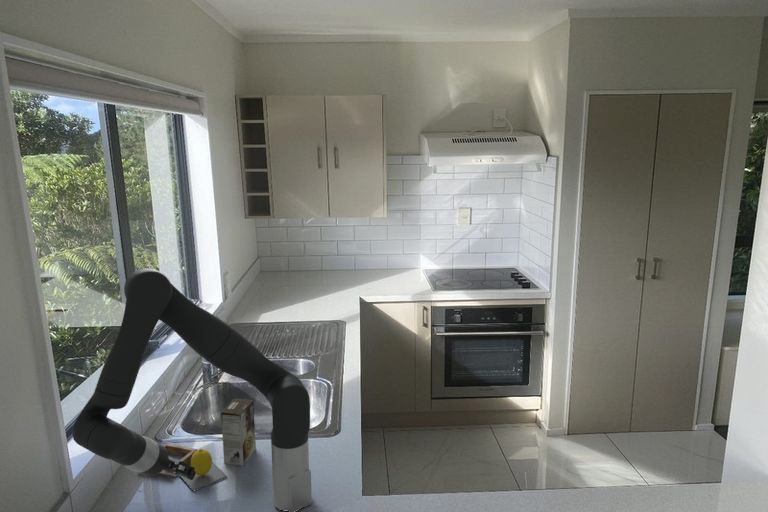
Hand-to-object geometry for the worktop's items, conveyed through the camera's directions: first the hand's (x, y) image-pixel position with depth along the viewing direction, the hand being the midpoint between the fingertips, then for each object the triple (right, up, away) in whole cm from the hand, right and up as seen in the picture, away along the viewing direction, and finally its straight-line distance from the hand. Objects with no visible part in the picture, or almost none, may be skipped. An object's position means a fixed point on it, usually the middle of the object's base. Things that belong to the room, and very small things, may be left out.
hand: (179, 472), depth 139 cm
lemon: (+3, -5, +9) cm, 11 cm away
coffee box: (+10, -3, +20) cm, 23 cm away
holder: (-9, -4, +16) cm, 19 cm away
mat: (+3, -5, +10) cm, 11 cm away
